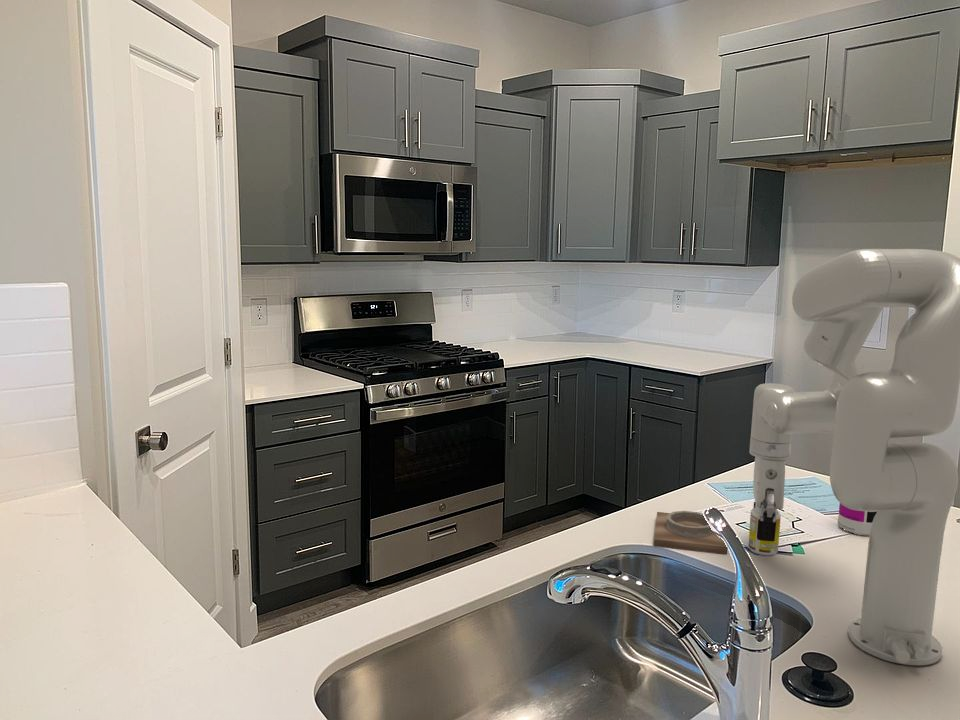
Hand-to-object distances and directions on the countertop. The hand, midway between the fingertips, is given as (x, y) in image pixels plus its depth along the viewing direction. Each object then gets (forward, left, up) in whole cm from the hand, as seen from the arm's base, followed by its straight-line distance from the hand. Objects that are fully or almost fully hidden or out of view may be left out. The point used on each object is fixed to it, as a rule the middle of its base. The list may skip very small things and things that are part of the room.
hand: (763, 530), depth 151 cm
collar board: (+4, +14, -4) cm, 15 cm away
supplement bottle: (0, 0, -4) cm, 4 cm away
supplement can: (+18, -21, -4) cm, 28 cm away
